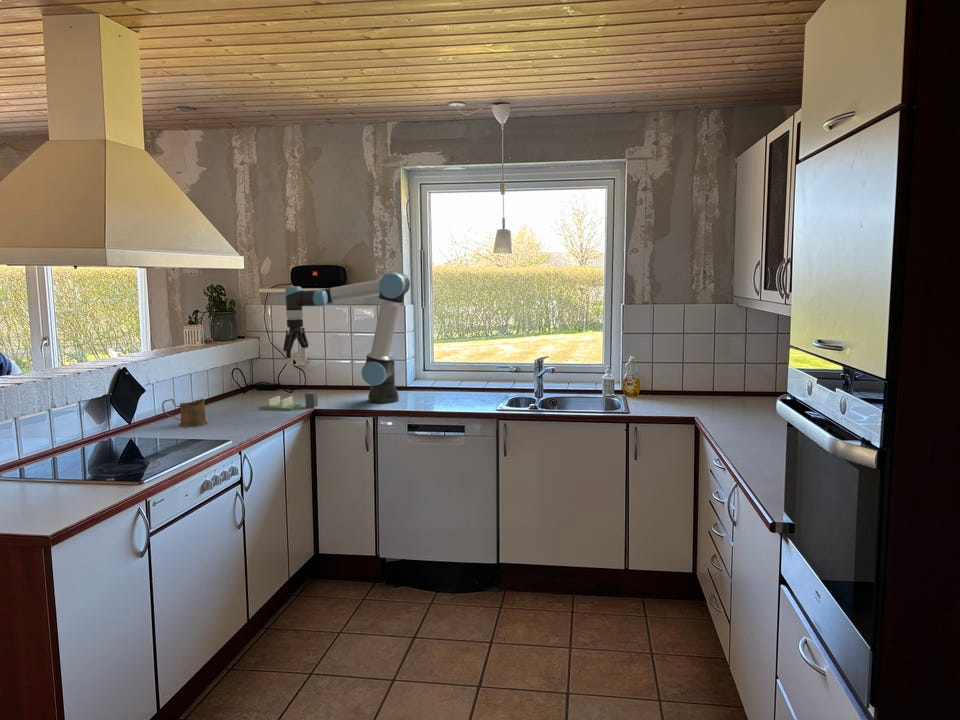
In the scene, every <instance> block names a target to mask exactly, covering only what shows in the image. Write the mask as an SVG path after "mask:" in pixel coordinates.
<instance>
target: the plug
mask: <svg viewBox="0 0 960 720" xmlns="http://www.w3.org/2000/svg"><path fill="white" fill-rule="evenodd" d="M304 396H305V409H315V408H314V407H316V406H318V407H319V401H318V398H319V397H318V391H308V392H305V395H304ZM316 408H317V407H316Z"/></svg>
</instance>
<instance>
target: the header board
mask: <svg viewBox="0 0 960 720" xmlns="http://www.w3.org/2000/svg"><path fill="white" fill-rule="evenodd" d="M293 399H294V397H293V396H292V395H291V396H288V397H286V398H284V399H281V395H277V396H274V397H272V398H269V399H268V400H267V401H268V403H266V404H262V405H261V406H259V407H258V409H259V411H260V410H262V411H263V410H264V411H284V412H285V411H286V412H291V411H294V410H296V409H298V408H300V407H303V403H301V402H300V403H299V402H294V400H293Z"/></svg>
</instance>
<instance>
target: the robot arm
mask: <svg viewBox="0 0 960 720" xmlns="http://www.w3.org/2000/svg"><path fill="white" fill-rule="evenodd" d="M409 279H410V278H408V276H407V274H405V273H403V272H401V271H400V272H399V271H390V272H387V273H385V274H384V275H383V276H381V277H380V278H379V279H376V280H375V279H374V280H367V281H363V282H357V283H351V284H344V285H340V286H334V287H327V288H321V289H316V290H315V289H314V290H311V289H310V290H304V289H303V290H302V287H301V286H299V285H297V286H286V287H285V294H284V296H285V298H284V299H285V307H286V309H285V310H286V312H285V314H286V318H287V319H286V327H287V328H289V329H286V330H285V337H284V342H283V344H284V345H283V348H282V350H283V352H285V354H286V366H293V365H294V358H293V350H292V348H293V346H294V343H295V341H296V340H297V341H298V344H299V345H300V362H308V359H307V358H308V357H307V348H309V341H308V338H307V336H306V332H305V331H306V330H305V327H303V326H304V319H303V318H304V316H303V312H304V311H303V307H324V306H326V305H331V304H335V303H340V302H341V303H342V302H348V301H354V300H358V299H365V298H371V297H378V300H379V301H380V305H379V310H378V316H377V321H376V325H375V326H376V327H375V330H374V336H373V341H372V345H371V351H370V352H368V353H367V354H366V358H365V362H364V363H365V364H364V365H363V366H362V368H361V377H362V379H363V381H364V382H365V383H366V384H368V385H370V389H369V393H368V395H367V401H368V402H369V403H372V404H389V403H390V404H391V403H396V402H398V401H399V400H400V397H399V392H398V390H397V387H396V380H395V379H396V376H395V375H396V374H395V372H396V371H395V370H396V369H395V361H396V360H395V357H394V355H392V354H390V352H391V345H392V342H393V336H394V332H395V326H396V322H397V317H398V312H399V307H400V306H401V305H403V303H404V299H405V296H406V294H407V293H408V291H409V290H410V286H411V281H410V280H409Z"/></svg>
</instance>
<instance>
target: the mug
mask: <svg viewBox="0 0 960 720" xmlns="http://www.w3.org/2000/svg"><path fill="white" fill-rule="evenodd" d="M169 401H170V402H171V401H172V404H173V406H175V407H177V408H180V418H177V417H176V416H174V415H172V414H168V413H166V411H165V407H164V405H165V403H167V402H169ZM161 405H162V406H161V407H162V412H163V413H164V415H166V416H168V417H172V418H174V419H175V420H177V421H180V423H179V424H178V427H179V428H183V427H194V428H199V427H198V426H201V427H204V426H203V425H205V426H207V425H209V422H208V420H207V419H206V405H205V399H204V398H201V399H197V400H193V401H189V402H180V403H179V405H177V404H176V403H175V399H174V398H169V399H165V400H163V402H162V404H161ZM206 424H207V425H206Z"/></svg>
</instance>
